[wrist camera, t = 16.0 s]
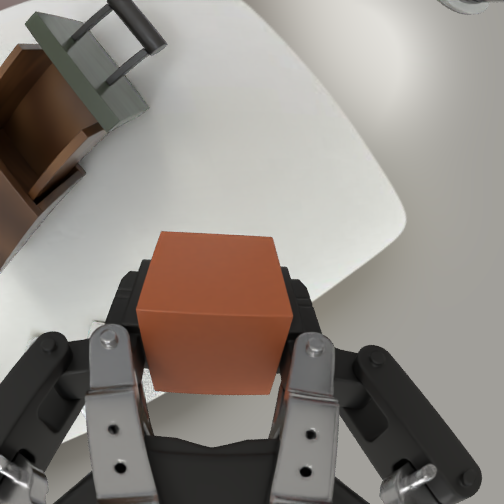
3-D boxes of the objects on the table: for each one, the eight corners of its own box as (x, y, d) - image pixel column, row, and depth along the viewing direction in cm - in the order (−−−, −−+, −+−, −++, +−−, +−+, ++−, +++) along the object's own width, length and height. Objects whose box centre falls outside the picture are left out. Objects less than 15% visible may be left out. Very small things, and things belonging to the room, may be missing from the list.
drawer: (125, -15, 15) (90, -40, 9) (196, 73, 21) (183, 71, 15) (-2, 121, 20) (-50, 143, 13) (56, 196, 26) (17, 235, 19)
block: (160, 230, 11) (135, 309, 7) (272, 236, 11) (294, 316, 8) (167, 312, 13) (154, 391, 10) (258, 316, 14) (269, 394, 10)
